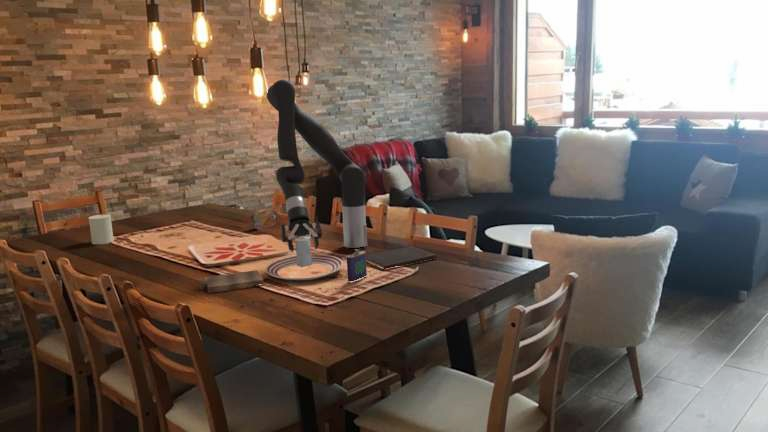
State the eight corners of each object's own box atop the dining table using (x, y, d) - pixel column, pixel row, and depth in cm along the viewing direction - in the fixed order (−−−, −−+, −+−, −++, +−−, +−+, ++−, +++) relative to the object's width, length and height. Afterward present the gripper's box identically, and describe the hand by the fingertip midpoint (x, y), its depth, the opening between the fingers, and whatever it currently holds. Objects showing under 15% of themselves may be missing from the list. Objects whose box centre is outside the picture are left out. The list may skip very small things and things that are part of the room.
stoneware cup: (312, 261, 233) (310, 234, 231) (312, 266, 228) (310, 238, 226) (296, 262, 233) (295, 235, 231) (296, 267, 228) (294, 239, 225)
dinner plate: (322, 288, 214) (322, 279, 213) (251, 282, 224) (250, 272, 223) (355, 265, 239) (355, 256, 238) (290, 260, 248) (289, 252, 248)
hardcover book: (361, 262, 243) (361, 256, 243) (412, 251, 255) (412, 246, 255) (384, 272, 230) (384, 266, 229) (436, 260, 242) (436, 254, 241)
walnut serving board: (257, 275, 230) (256, 270, 229) (263, 285, 219) (263, 279, 218) (198, 283, 223) (197, 278, 222) (201, 294, 212) (201, 288, 211)
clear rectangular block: (254, 231, 297) (253, 213, 295) (249, 230, 299) (248, 212, 297) (278, 224, 309) (277, 207, 307) (273, 224, 311) (272, 206, 309)
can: (118, 239, 292) (114, 213, 289) (107, 244, 283) (103, 217, 280) (98, 239, 293) (95, 213, 290) (87, 244, 284) (83, 217, 281)
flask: (362, 275, 226) (361, 245, 223) (369, 276, 224) (368, 246, 222) (345, 282, 218) (344, 251, 216) (352, 284, 217) (351, 253, 214)
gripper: (278, 207, 232) (284, 245, 224) (317, 203, 236) (325, 241, 228) (277, 218, 238) (283, 256, 230) (315, 215, 242) (323, 252, 234)
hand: (304, 249), depth 229 cm, fingers open, 8 cm apart
